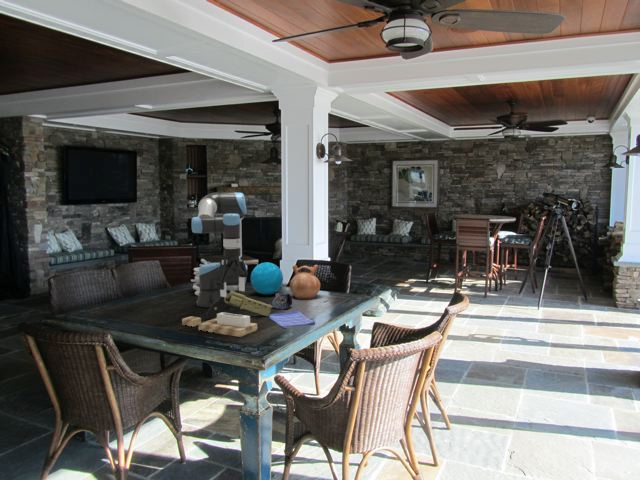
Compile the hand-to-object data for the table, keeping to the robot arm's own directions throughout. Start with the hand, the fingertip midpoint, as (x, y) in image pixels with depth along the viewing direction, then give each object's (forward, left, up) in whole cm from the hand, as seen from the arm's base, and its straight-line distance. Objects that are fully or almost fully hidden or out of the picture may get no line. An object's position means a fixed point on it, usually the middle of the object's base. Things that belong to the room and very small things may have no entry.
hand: (232, 293), depth 243 cm
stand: (-25, 0, -17) cm, 30 cm away
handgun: (-13, +22, -18) cm, 31 cm away
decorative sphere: (-34, +77, -18) cm, 86 cm away
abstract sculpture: (-66, +66, -18) cm, 95 cm away
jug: (-9, +81, -18) cm, 84 cm away
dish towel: (+14, +28, -18) cm, 36 cm away
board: (-3, 0, -17) cm, 18 cm away
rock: (-6, +51, -18) cm, 55 cm away
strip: (0, 0, -17) cm, 17 cm away
